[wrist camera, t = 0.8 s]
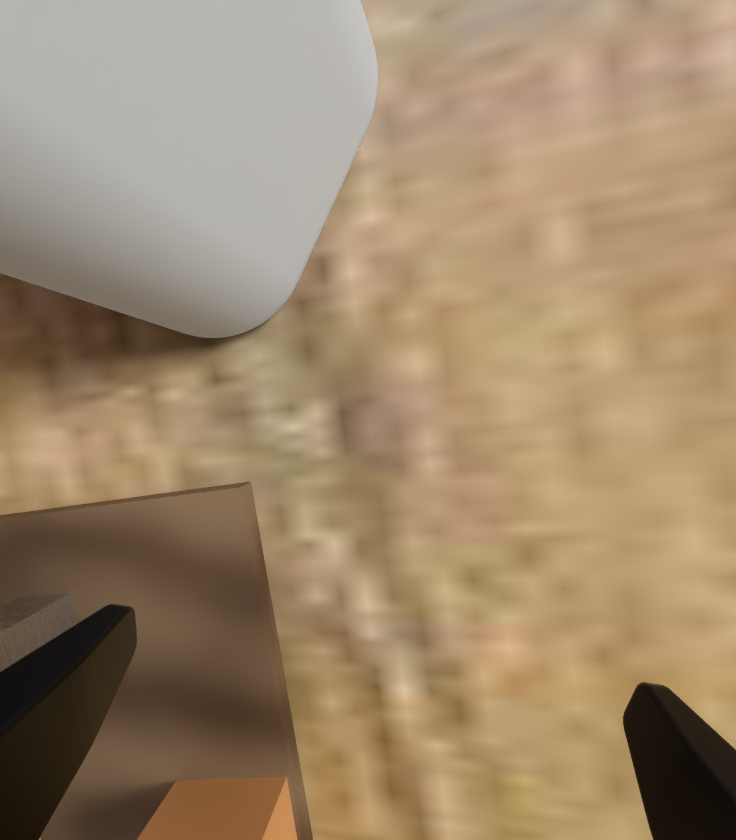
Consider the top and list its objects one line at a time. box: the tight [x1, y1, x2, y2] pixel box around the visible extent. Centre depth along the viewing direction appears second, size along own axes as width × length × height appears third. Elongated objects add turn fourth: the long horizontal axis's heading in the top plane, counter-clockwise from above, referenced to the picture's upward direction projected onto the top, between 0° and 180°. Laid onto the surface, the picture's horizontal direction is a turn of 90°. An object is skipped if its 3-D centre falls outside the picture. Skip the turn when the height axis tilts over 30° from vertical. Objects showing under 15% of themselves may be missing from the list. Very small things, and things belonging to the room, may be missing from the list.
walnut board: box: [0, 482, 313, 840], centre depth 24 cm, size 20×14×1 cm
